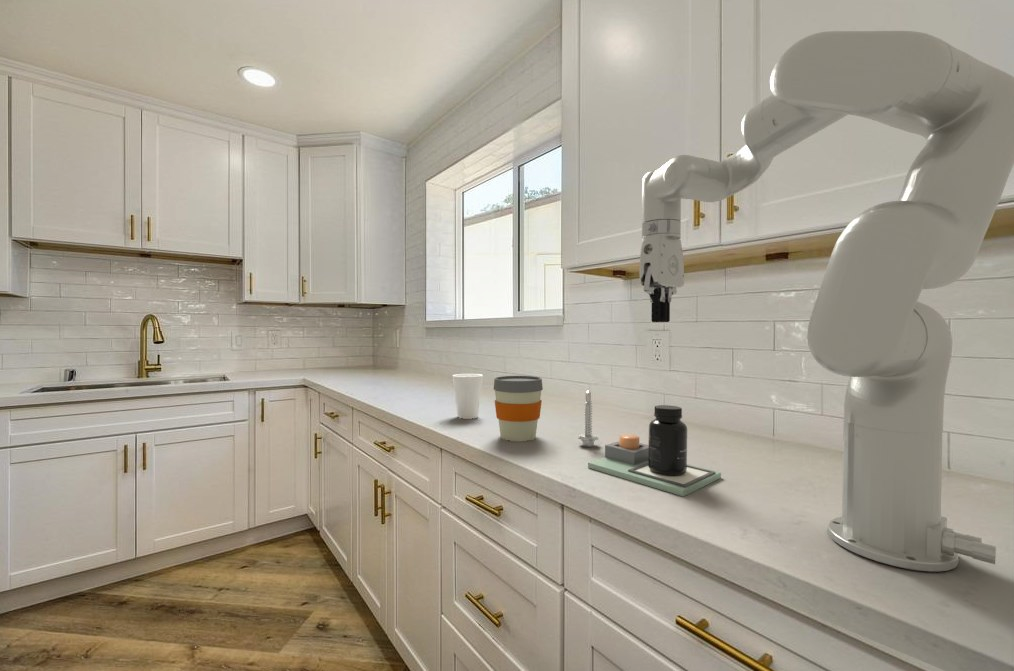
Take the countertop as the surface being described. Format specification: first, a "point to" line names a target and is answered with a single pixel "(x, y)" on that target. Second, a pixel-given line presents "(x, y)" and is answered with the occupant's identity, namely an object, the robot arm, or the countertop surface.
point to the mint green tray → (637, 470)
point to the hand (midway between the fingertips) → (660, 321)
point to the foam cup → (467, 394)
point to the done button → (629, 441)
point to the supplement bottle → (667, 442)
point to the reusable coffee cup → (518, 406)
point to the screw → (588, 424)
